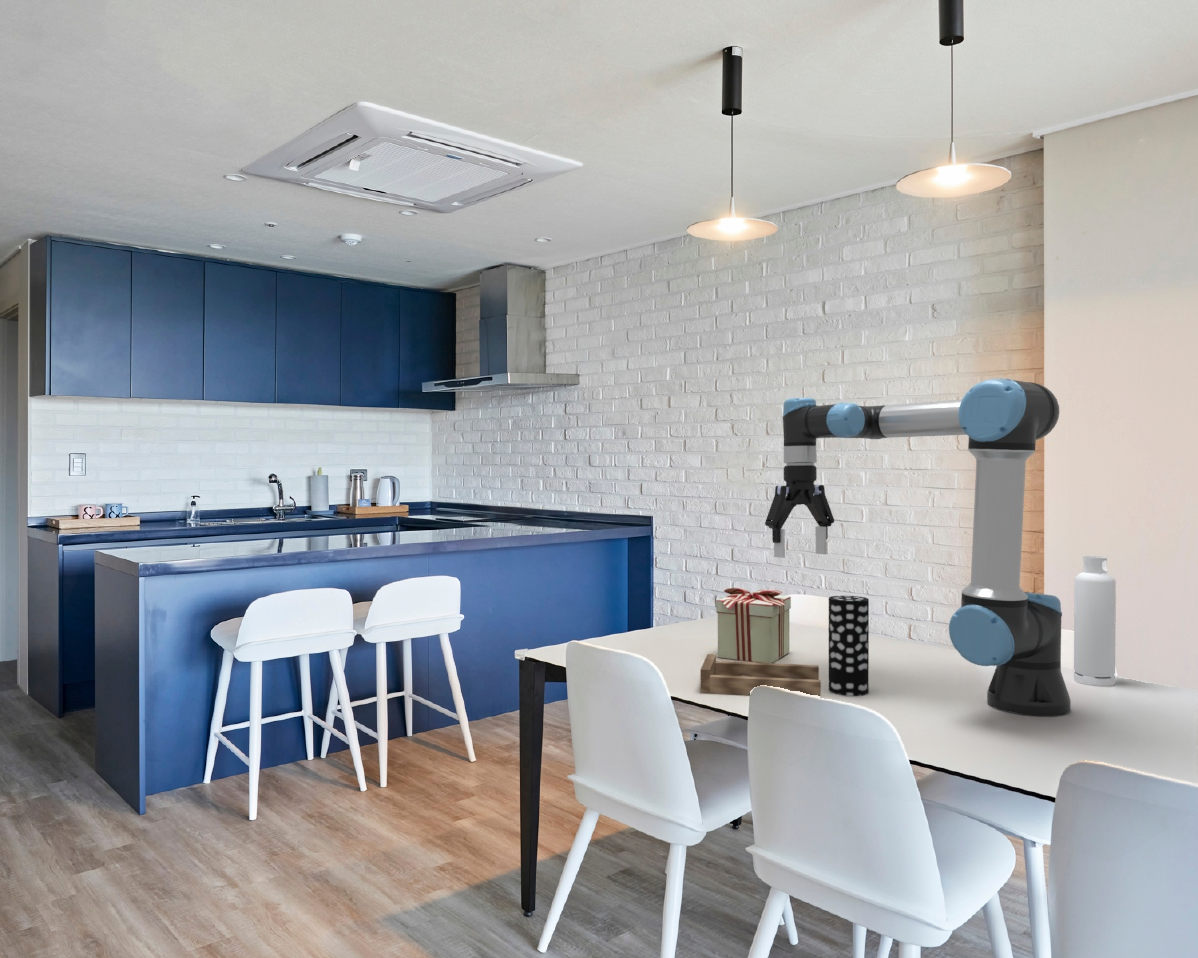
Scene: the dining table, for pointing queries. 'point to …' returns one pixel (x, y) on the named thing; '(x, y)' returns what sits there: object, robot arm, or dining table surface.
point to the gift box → (753, 625)
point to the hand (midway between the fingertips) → (800, 555)
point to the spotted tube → (849, 645)
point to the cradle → (757, 677)
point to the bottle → (1094, 624)
